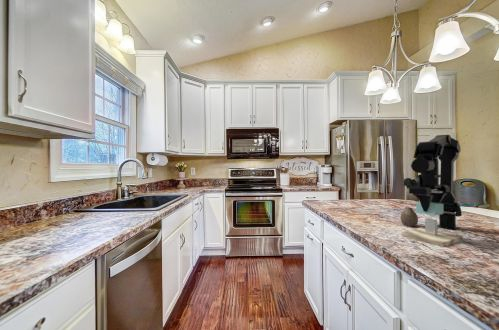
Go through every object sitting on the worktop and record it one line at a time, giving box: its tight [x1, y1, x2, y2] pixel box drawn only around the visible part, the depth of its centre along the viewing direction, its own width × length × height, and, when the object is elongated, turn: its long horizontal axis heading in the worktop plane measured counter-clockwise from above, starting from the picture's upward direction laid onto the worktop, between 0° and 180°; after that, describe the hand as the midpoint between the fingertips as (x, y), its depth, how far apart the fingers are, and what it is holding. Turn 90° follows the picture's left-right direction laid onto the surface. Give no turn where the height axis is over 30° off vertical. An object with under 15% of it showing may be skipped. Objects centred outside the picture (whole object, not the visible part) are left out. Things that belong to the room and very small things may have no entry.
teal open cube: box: [415, 201, 443, 217], centre depth 88 cm, size 6×6×4 cm
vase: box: [400, 206, 419, 228], centre depth 105 cm, size 7×7×9 cm
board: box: [401, 226, 464, 248], centre depth 88 cm, size 15×14×2 cm
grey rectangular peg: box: [424, 217, 438, 236], centre depth 88 cm, size 2×3×6 cm, turn 26°
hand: (429, 210), depth 88 cm, fingers closed on teal open cube, 6 cm apart
